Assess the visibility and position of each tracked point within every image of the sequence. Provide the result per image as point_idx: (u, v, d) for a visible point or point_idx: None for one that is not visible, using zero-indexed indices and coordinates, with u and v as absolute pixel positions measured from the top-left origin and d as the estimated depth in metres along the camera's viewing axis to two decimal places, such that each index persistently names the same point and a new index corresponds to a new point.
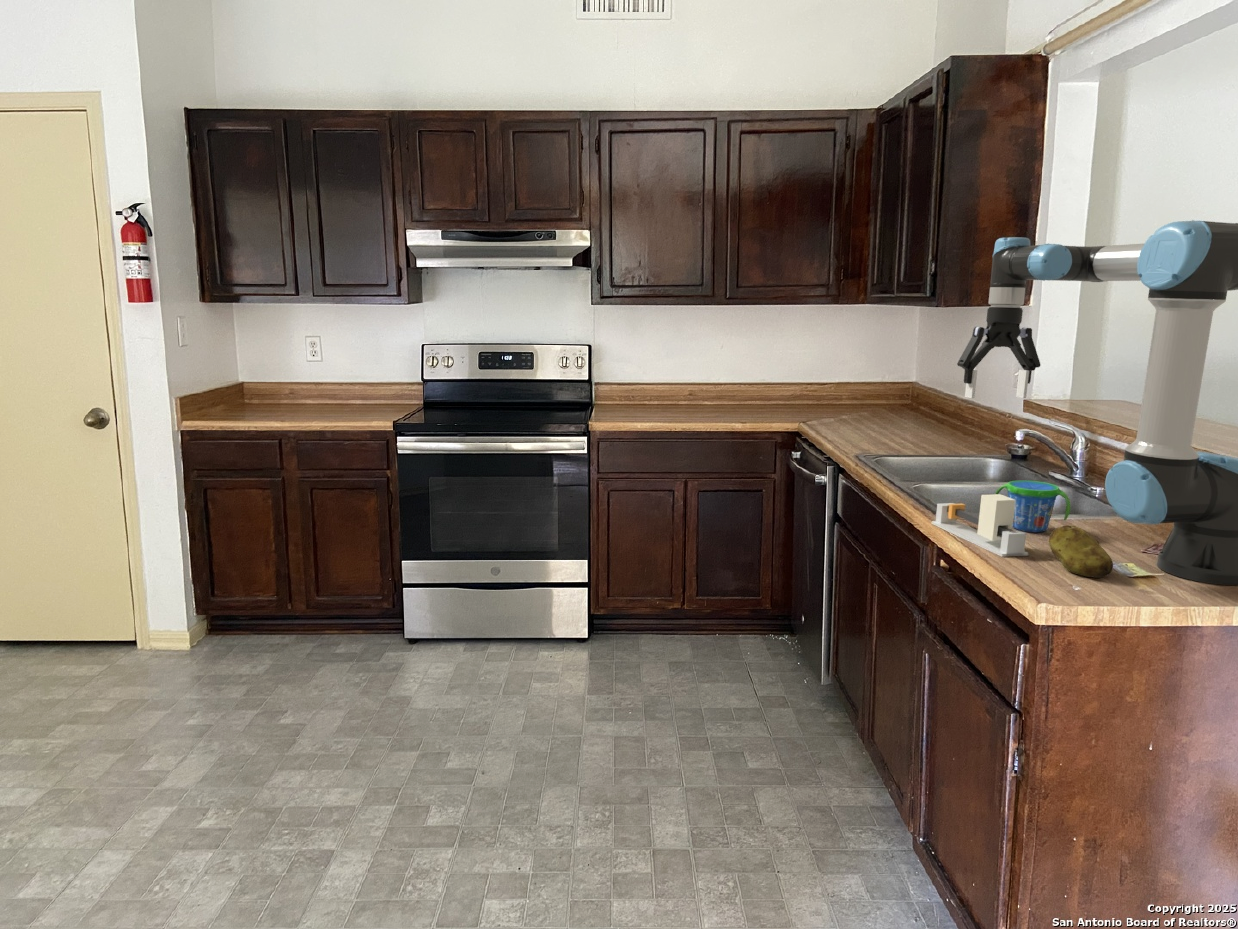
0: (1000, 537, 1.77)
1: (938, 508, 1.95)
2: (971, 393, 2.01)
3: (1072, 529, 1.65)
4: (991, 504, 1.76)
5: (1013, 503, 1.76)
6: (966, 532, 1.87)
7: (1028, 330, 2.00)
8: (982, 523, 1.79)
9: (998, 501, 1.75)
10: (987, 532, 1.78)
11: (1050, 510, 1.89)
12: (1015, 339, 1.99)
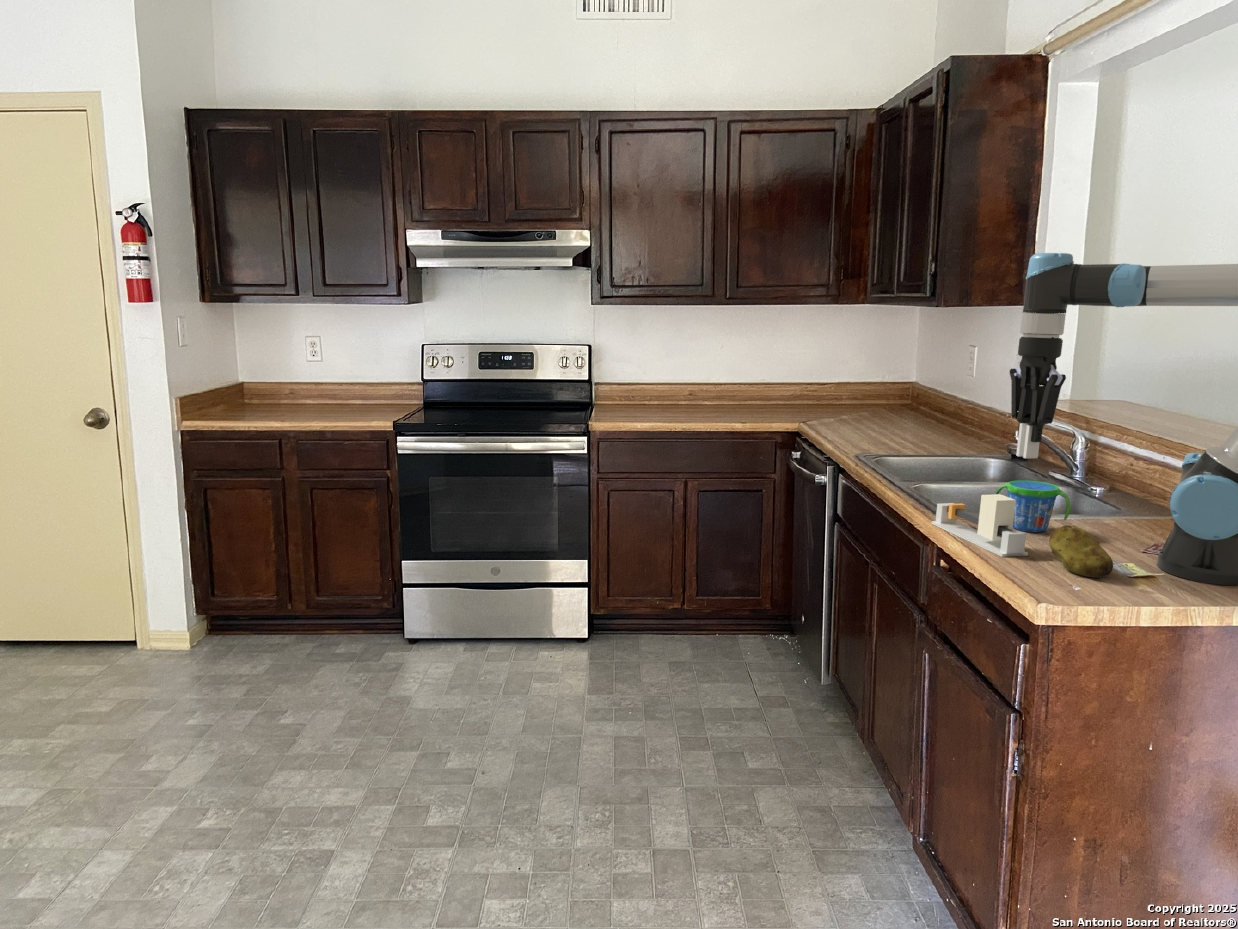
0: (1000, 537, 1.77)
1: (938, 508, 1.95)
2: None
3: (1072, 529, 1.65)
4: (991, 504, 1.76)
5: (1013, 503, 1.76)
6: (966, 532, 1.87)
7: (1051, 376, 1.60)
8: (982, 523, 1.79)
9: (998, 501, 1.75)
10: (987, 532, 1.78)
11: (1050, 510, 1.89)
12: (1034, 378, 1.64)
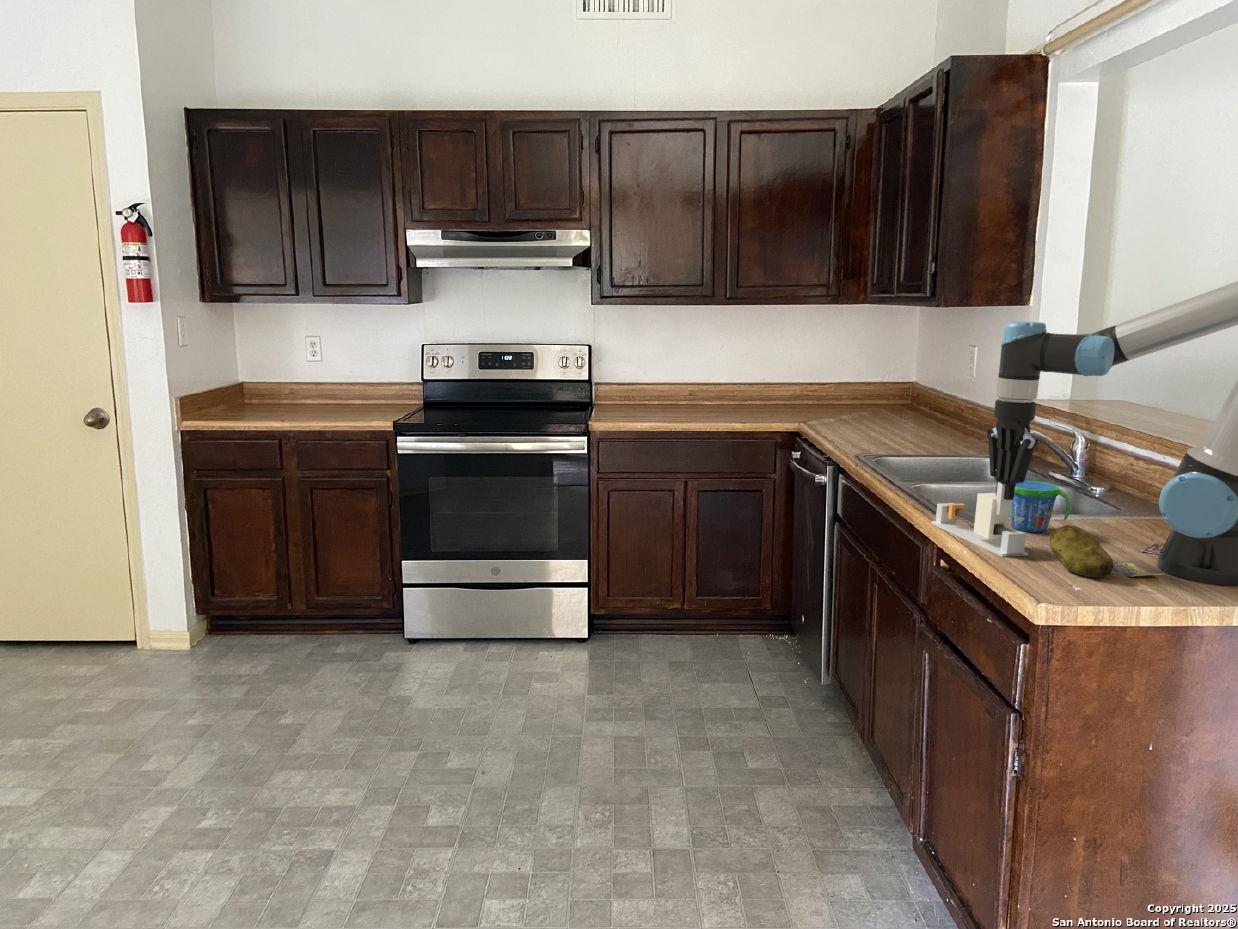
0: (996, 535, 1.78)
1: (938, 508, 1.95)
2: None
3: (1073, 529, 1.65)
4: (987, 503, 1.78)
5: None
6: (966, 532, 1.87)
7: (1024, 440, 1.68)
8: (978, 521, 1.81)
9: (994, 499, 1.76)
10: (983, 530, 1.79)
11: (1050, 510, 1.89)
12: (1008, 440, 1.71)
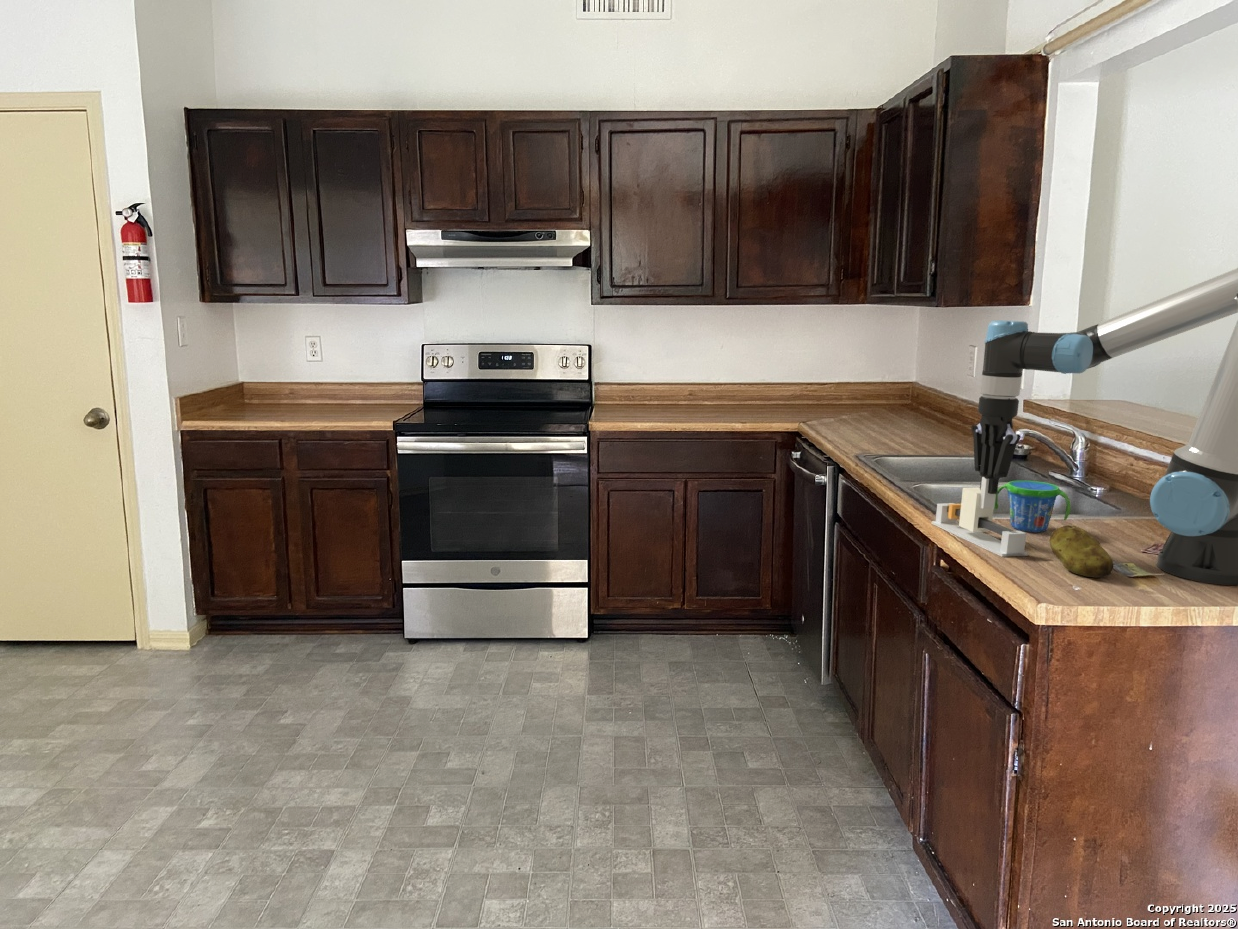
0: (980, 528, 1.83)
1: (938, 508, 1.95)
2: None
3: (1073, 529, 1.65)
4: (972, 497, 1.83)
5: None
6: (966, 532, 1.87)
7: (1007, 435, 1.73)
8: (963, 515, 1.86)
9: (978, 494, 1.81)
10: (968, 524, 1.84)
11: (1050, 510, 1.89)
12: (992, 435, 1.76)
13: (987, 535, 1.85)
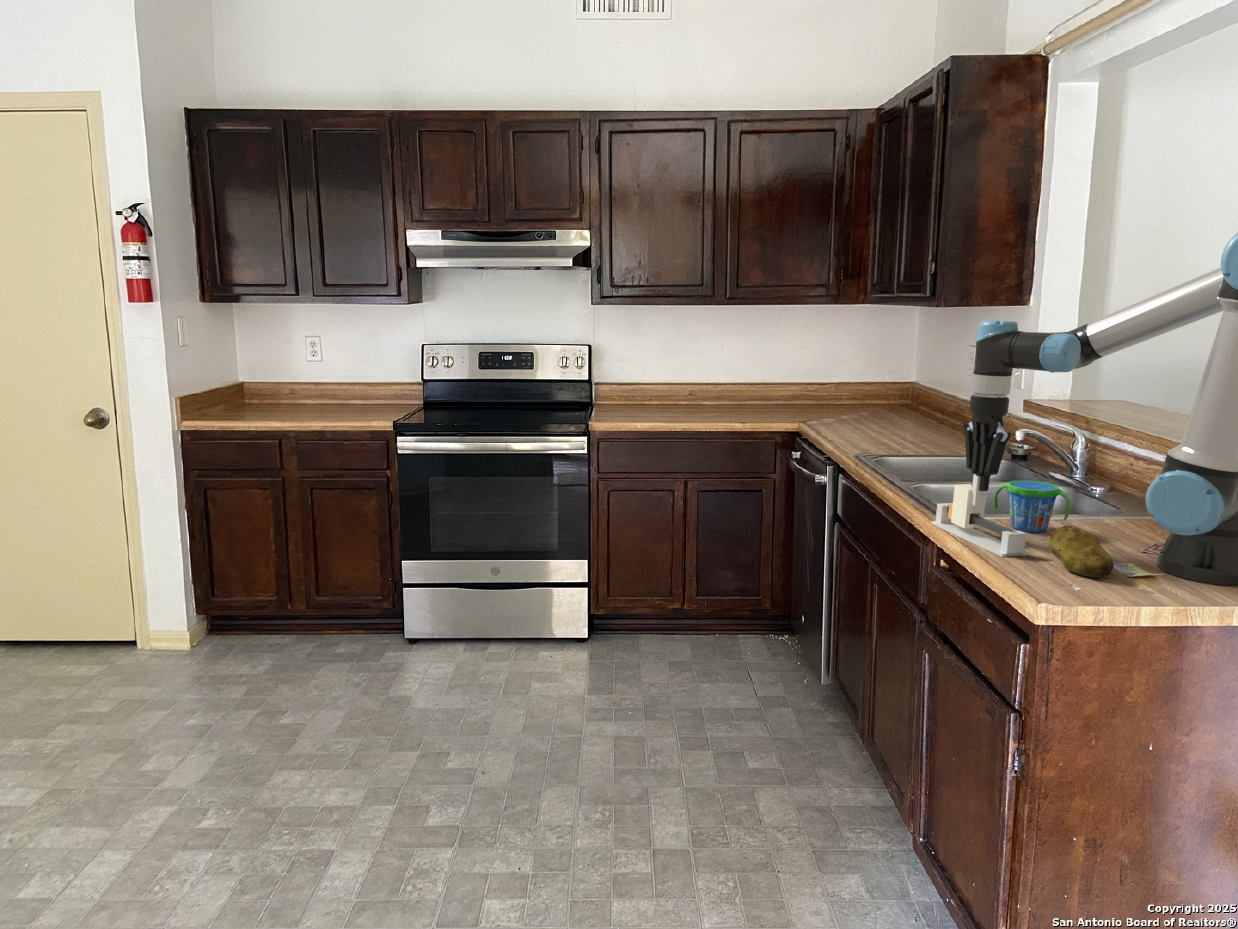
0: (972, 525, 1.86)
1: (938, 508, 1.95)
2: None
3: (1073, 529, 1.65)
4: (963, 493, 1.85)
5: None
6: (966, 532, 1.87)
7: (997, 433, 1.75)
8: (955, 512, 1.88)
9: (970, 490, 1.84)
10: (960, 520, 1.87)
11: (1050, 510, 1.89)
12: (983, 433, 1.79)
13: (987, 535, 1.85)
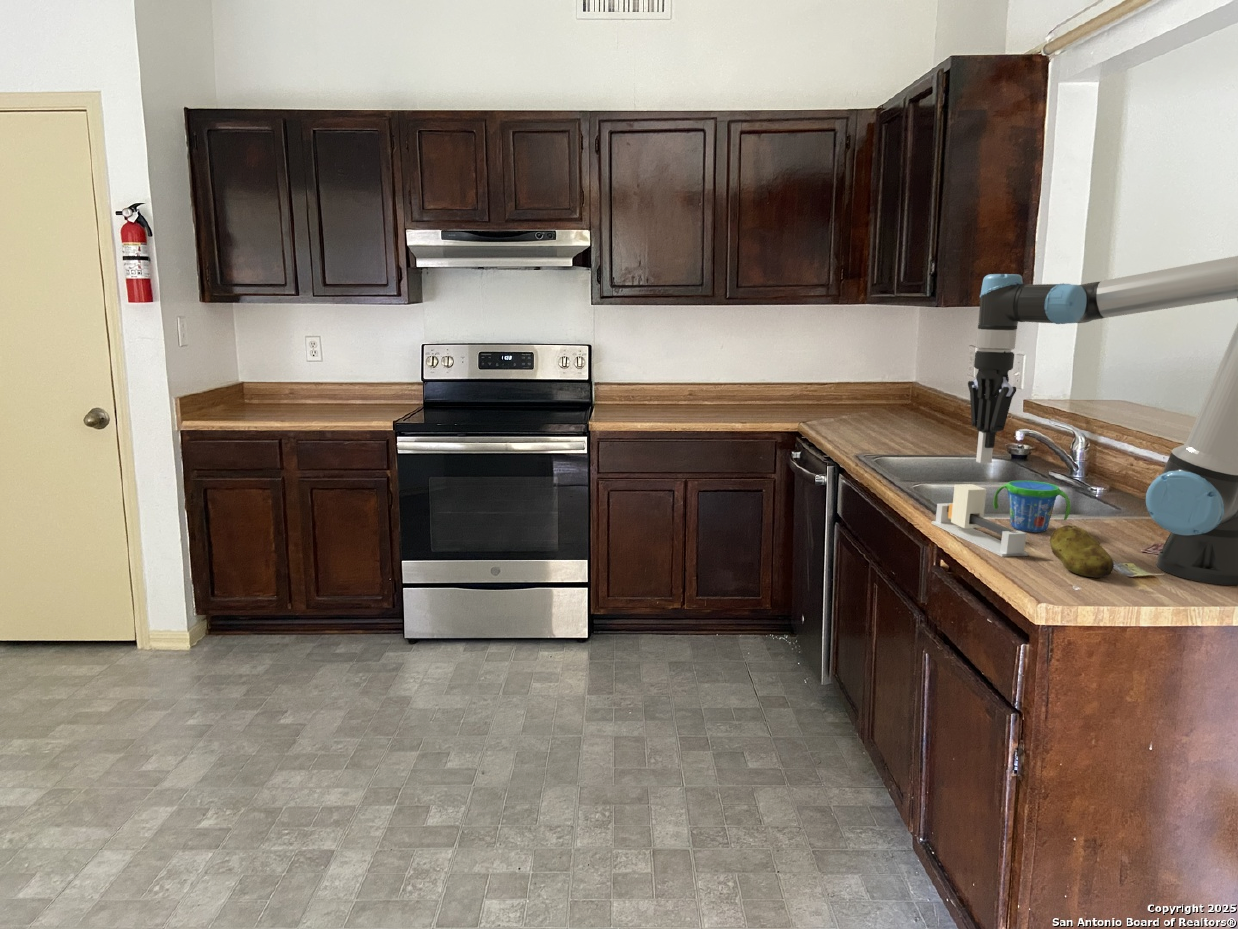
0: (972, 525, 1.86)
1: (938, 508, 1.95)
2: None
3: (1073, 529, 1.65)
4: (963, 493, 1.85)
5: (984, 492, 1.85)
6: (966, 532, 1.87)
7: (1003, 388, 1.74)
8: (955, 511, 1.88)
9: (970, 490, 1.84)
10: (960, 520, 1.87)
11: (1050, 510, 1.89)
12: (988, 389, 1.77)
13: (987, 535, 1.85)
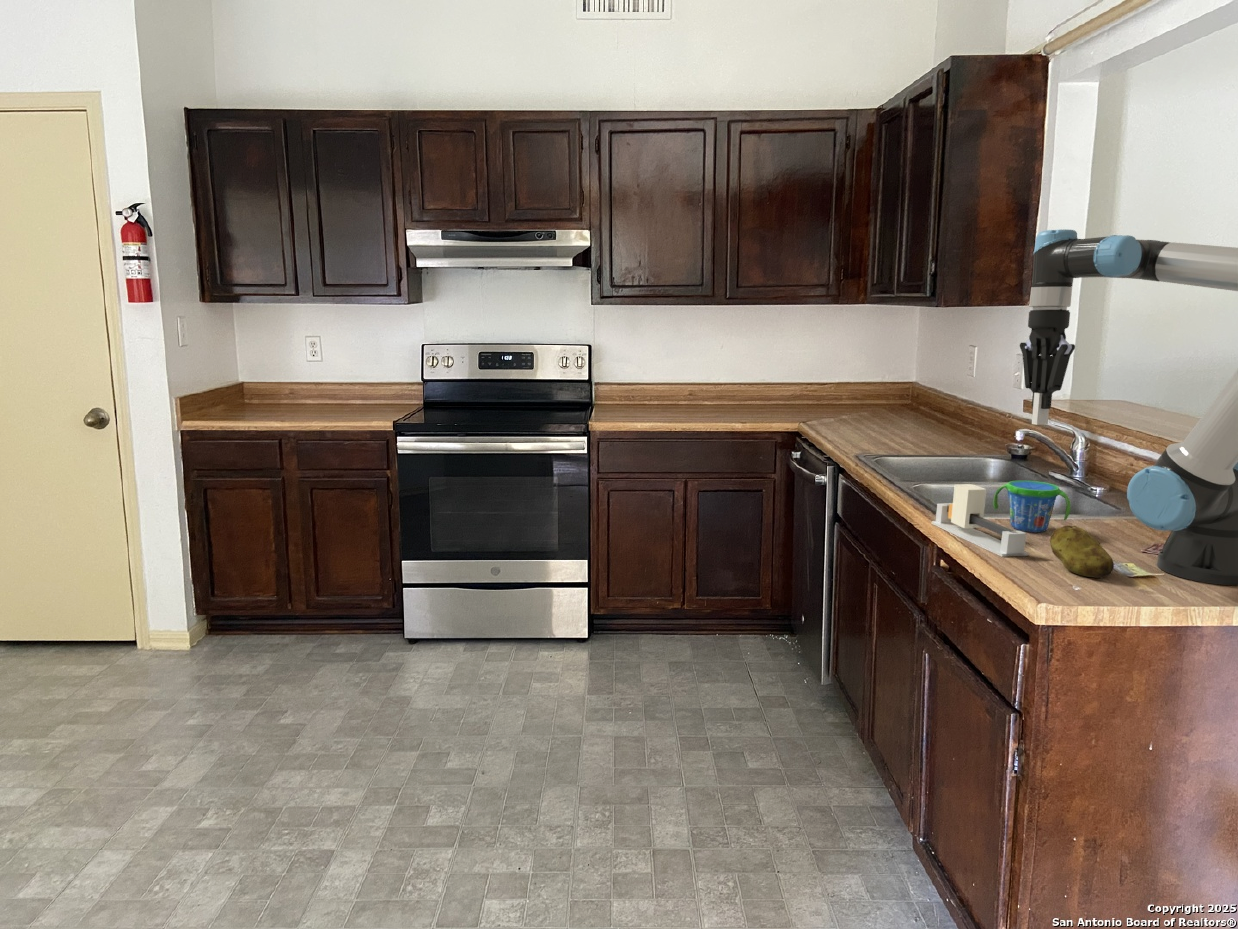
0: (972, 525, 1.86)
1: (938, 508, 1.95)
2: None
3: (1073, 529, 1.65)
4: (963, 493, 1.85)
5: (984, 492, 1.85)
6: (966, 532, 1.87)
7: (1061, 345, 1.70)
8: (955, 511, 1.88)
9: (970, 490, 1.84)
10: (960, 520, 1.87)
11: (1050, 510, 1.89)
12: (1044, 348, 1.74)
13: (987, 535, 1.85)
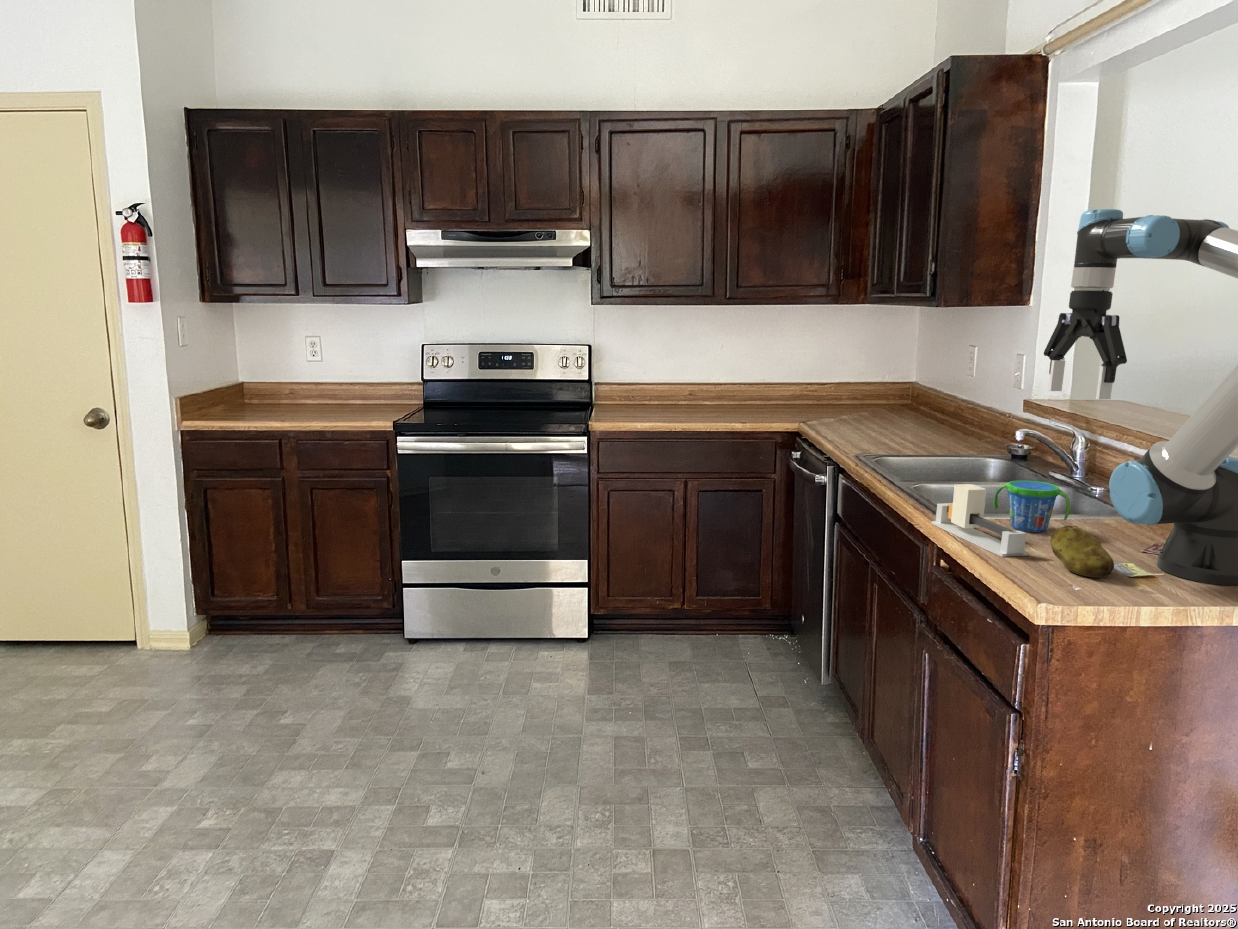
0: (972, 525, 1.86)
1: (938, 508, 1.95)
2: None
3: (1073, 529, 1.65)
4: (963, 493, 1.85)
5: (984, 492, 1.85)
6: (966, 532, 1.87)
7: (1105, 317, 1.68)
8: (955, 511, 1.88)
9: (970, 490, 1.84)
10: (960, 520, 1.87)
11: (1050, 510, 1.89)
12: (1088, 327, 1.71)
13: (987, 535, 1.85)
